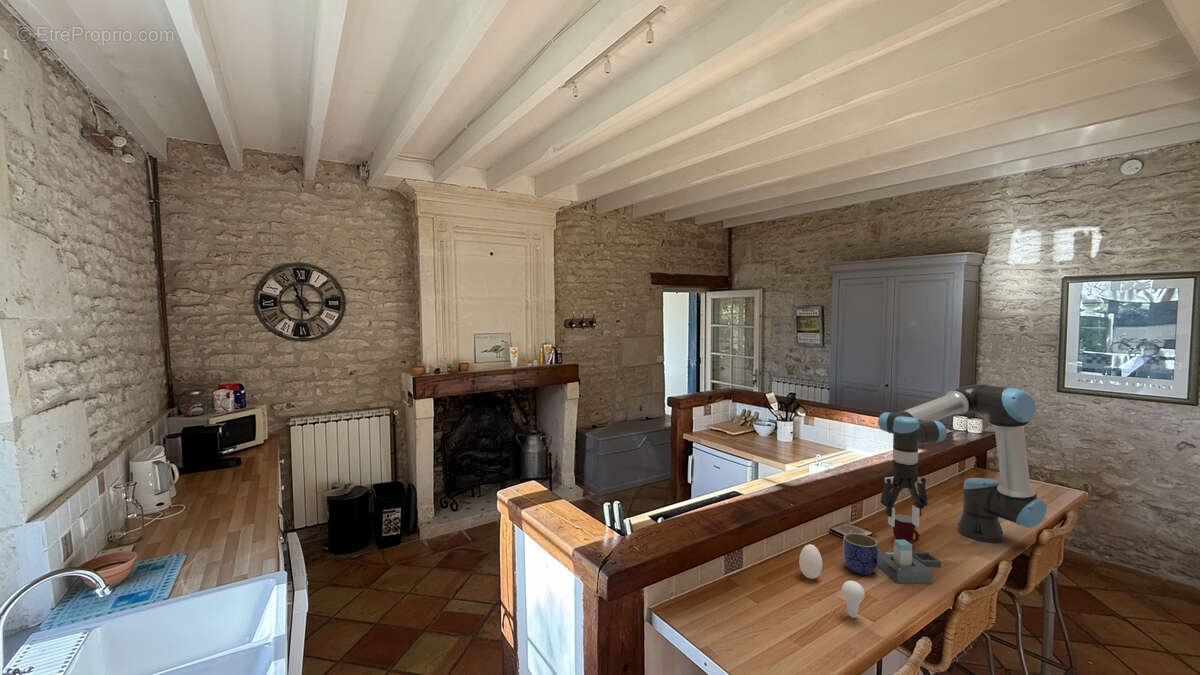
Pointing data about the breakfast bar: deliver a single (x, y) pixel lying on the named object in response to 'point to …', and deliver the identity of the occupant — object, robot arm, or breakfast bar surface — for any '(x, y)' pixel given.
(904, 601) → the breakfast bar surface
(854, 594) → the lightbulb
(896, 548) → the plug
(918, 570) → the panel
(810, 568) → the egg
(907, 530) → the mug
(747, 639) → the breakfast bar surface
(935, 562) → the holster
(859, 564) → the planter
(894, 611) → the breakfast bar surface
